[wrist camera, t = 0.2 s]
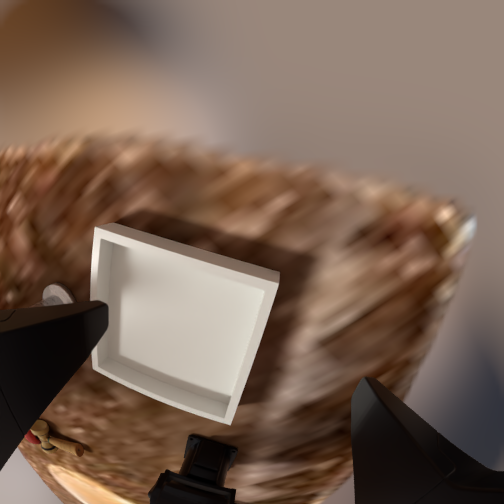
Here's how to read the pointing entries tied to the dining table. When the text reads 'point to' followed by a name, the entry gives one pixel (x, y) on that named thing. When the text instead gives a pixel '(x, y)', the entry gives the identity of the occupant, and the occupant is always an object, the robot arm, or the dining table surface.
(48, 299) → the pin
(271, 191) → the dining table surface
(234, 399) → the pin tray
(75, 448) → the kendama
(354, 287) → the dining table surface
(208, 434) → the dining table surface
